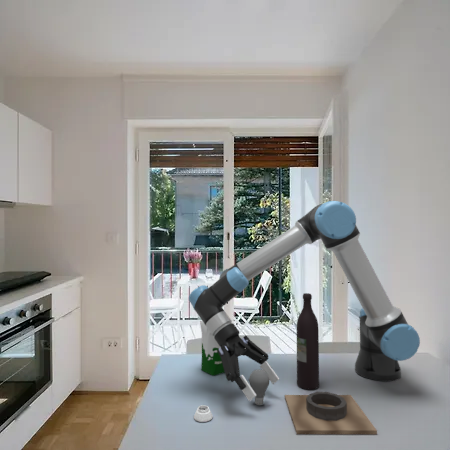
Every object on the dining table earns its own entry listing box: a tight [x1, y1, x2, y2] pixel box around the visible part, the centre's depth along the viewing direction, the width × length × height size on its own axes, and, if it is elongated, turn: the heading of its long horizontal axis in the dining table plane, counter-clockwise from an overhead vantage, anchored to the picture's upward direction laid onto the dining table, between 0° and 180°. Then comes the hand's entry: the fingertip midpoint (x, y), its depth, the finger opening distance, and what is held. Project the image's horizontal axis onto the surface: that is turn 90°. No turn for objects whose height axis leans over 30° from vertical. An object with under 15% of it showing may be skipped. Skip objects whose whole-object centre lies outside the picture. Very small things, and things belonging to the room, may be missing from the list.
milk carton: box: [199, 320, 225, 377], centre depth 136 cm, size 9×9×20 cm
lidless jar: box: [193, 404, 214, 423], centre depth 102 cm, size 5×3×5 cm
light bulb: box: [248, 368, 270, 406], centre depth 109 cm, size 6×6×10 cm
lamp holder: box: [284, 391, 378, 435], centre depth 103 cm, size 20×20×4 cm
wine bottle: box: [296, 292, 320, 391], centre depth 122 cm, size 7×7×30 cm
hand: (265, 389), depth 108 cm, fingers open, 13 cm apart
